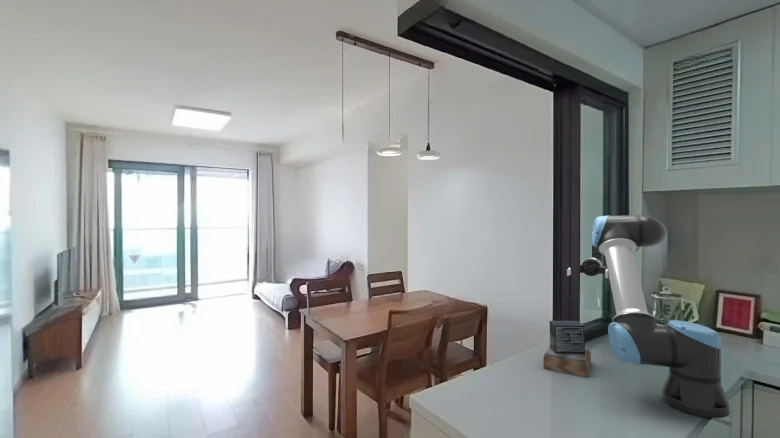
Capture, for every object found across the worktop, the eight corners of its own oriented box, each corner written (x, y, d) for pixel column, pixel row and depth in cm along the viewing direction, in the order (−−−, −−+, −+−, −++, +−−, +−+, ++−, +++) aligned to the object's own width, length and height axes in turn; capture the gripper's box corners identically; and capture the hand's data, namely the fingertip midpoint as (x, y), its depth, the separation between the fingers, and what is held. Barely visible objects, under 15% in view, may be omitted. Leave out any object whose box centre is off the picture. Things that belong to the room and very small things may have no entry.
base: (591, 363, 137) (590, 348, 137) (587, 377, 125) (587, 361, 125) (550, 355, 145) (550, 341, 145) (543, 368, 133) (543, 353, 133)
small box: (578, 347, 138) (578, 320, 138) (585, 354, 131) (585, 325, 131) (549, 347, 139) (548, 319, 139) (555, 353, 132) (554, 324, 132)
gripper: (624, 277, 157) (623, 285, 140) (561, 273, 171) (553, 280, 154) (624, 259, 157) (623, 266, 140) (561, 257, 171) (553, 262, 154)
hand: (586, 273), depth 147 cm, fingers open, 13 cm apart
